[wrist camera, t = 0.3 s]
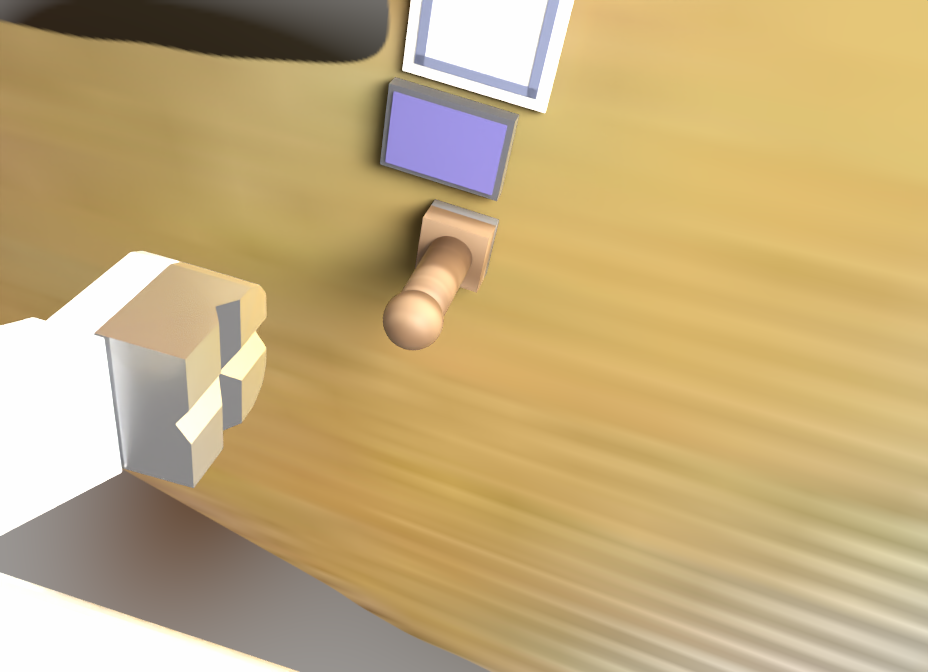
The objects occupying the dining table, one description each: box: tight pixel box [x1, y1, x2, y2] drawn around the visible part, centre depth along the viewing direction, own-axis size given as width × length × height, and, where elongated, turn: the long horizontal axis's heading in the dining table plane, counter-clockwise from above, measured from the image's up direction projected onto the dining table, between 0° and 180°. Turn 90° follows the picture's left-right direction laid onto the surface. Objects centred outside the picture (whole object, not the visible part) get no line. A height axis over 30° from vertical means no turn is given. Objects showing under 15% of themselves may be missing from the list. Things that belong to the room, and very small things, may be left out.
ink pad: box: [380, 77, 519, 201], centre depth 52 cm, size 6×8×1 cm
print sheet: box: [402, 0, 574, 113], centre depth 47 cm, size 9×9×1 cm
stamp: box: [383, 199, 499, 350], centre depth 52 cm, size 4×4×11 cm
